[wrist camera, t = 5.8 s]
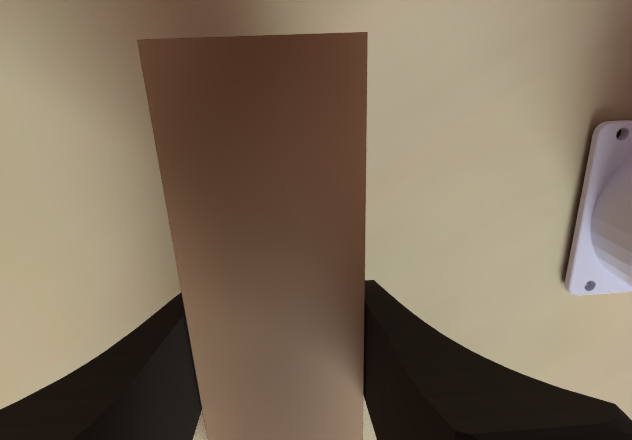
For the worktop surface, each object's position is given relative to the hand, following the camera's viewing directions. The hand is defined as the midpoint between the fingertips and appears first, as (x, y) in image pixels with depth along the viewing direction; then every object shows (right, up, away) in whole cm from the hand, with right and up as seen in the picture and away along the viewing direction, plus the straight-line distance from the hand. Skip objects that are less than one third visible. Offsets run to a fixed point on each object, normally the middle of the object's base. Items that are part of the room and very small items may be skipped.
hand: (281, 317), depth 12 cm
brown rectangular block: (0, -1, +2) cm, 3 cm away
